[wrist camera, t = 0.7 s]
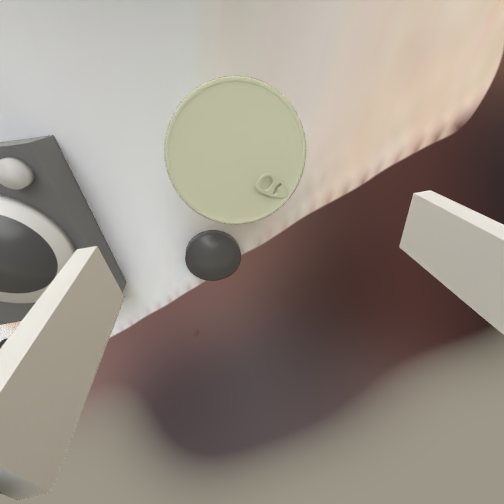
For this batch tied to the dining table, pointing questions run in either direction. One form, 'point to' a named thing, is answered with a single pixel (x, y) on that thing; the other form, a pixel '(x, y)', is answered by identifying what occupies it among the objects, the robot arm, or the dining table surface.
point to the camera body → (40, 223)
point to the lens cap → (213, 255)
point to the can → (235, 149)
